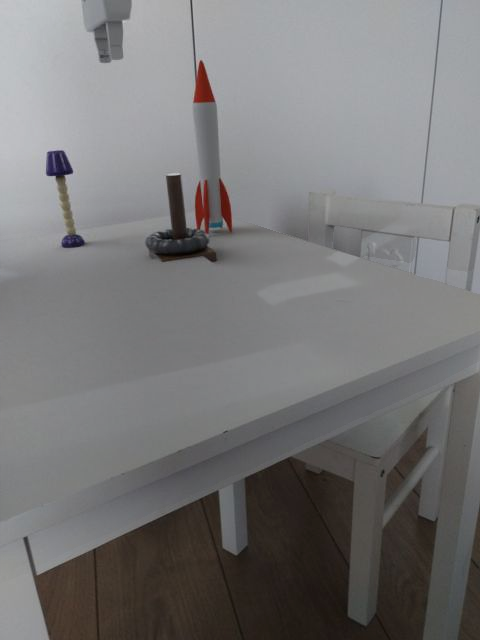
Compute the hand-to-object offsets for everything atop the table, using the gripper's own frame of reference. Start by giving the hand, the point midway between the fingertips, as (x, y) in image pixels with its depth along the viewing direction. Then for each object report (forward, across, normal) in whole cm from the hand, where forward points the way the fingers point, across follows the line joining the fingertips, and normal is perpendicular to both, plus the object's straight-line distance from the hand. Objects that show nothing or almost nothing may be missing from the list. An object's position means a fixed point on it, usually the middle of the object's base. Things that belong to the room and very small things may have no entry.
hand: (110, 61), depth 87 cm
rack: (+30, +8, +6) cm, 31 cm away
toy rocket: (+30, -7, +17) cm, 35 cm away
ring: (+27, +7, +6) cm, 29 cm away
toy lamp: (+30, -13, -9) cm, 34 cm away
